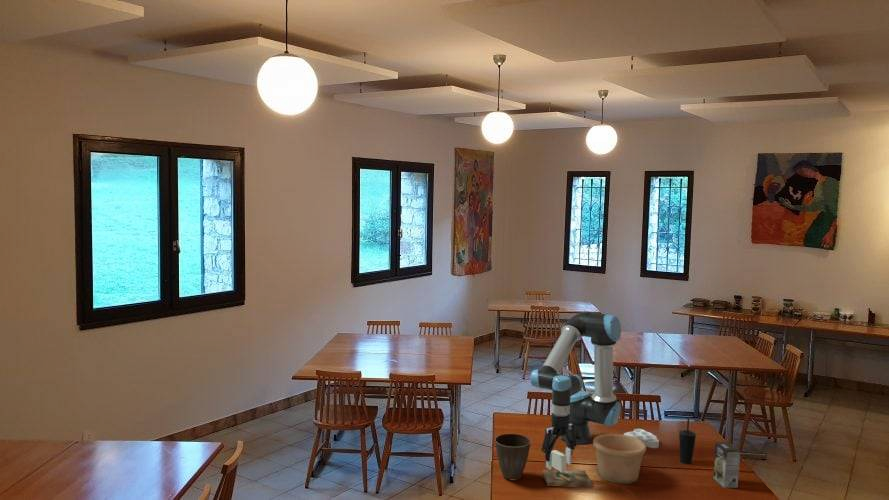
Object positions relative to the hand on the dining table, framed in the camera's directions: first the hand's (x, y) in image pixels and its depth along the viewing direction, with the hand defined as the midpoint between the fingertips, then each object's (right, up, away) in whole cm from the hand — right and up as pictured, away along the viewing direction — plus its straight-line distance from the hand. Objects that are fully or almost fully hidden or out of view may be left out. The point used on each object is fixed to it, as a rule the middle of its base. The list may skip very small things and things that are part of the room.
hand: (558, 465), depth 271 cm
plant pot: (-19, -6, +3) cm, 20 cm away
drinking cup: (+62, -6, +23) cm, 66 cm away
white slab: (+1, -4, -1) cm, 4 cm away
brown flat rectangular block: (+3, -6, 0) cm, 7 cm away
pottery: (+27, -7, +7) cm, 28 cm away
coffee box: (+70, -8, +2) cm, 71 cm away
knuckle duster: (+50, -4, +47) cm, 69 cm away
